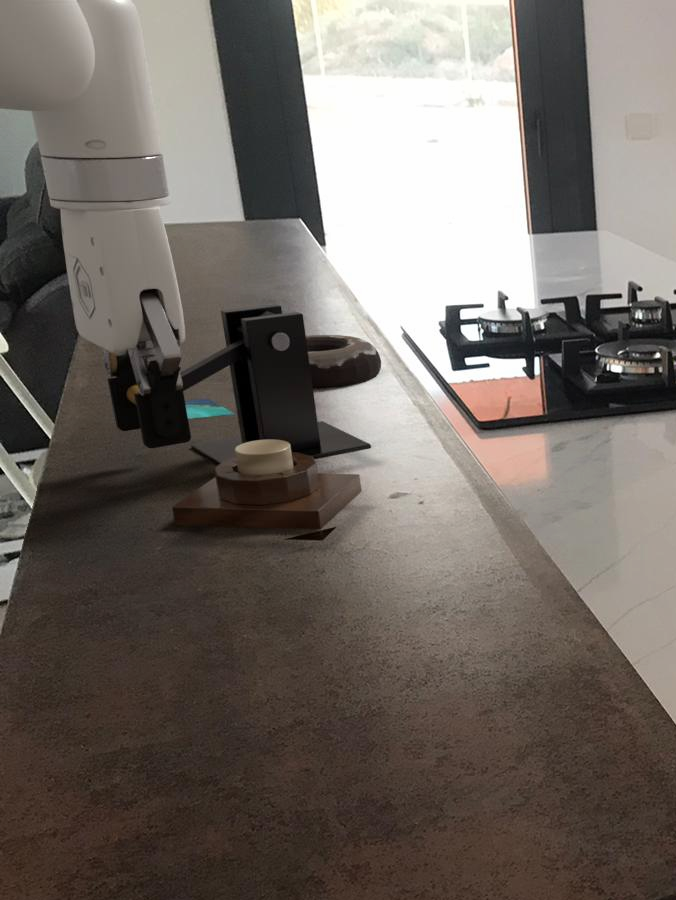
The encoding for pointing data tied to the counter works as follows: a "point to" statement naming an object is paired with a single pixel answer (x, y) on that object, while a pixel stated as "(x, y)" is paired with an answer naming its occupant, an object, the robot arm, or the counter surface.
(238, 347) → the switch lever
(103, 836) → the counter surface
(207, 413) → the smartphone
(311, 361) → the donut
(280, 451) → the button
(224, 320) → the switch bracket
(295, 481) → the lamp base
